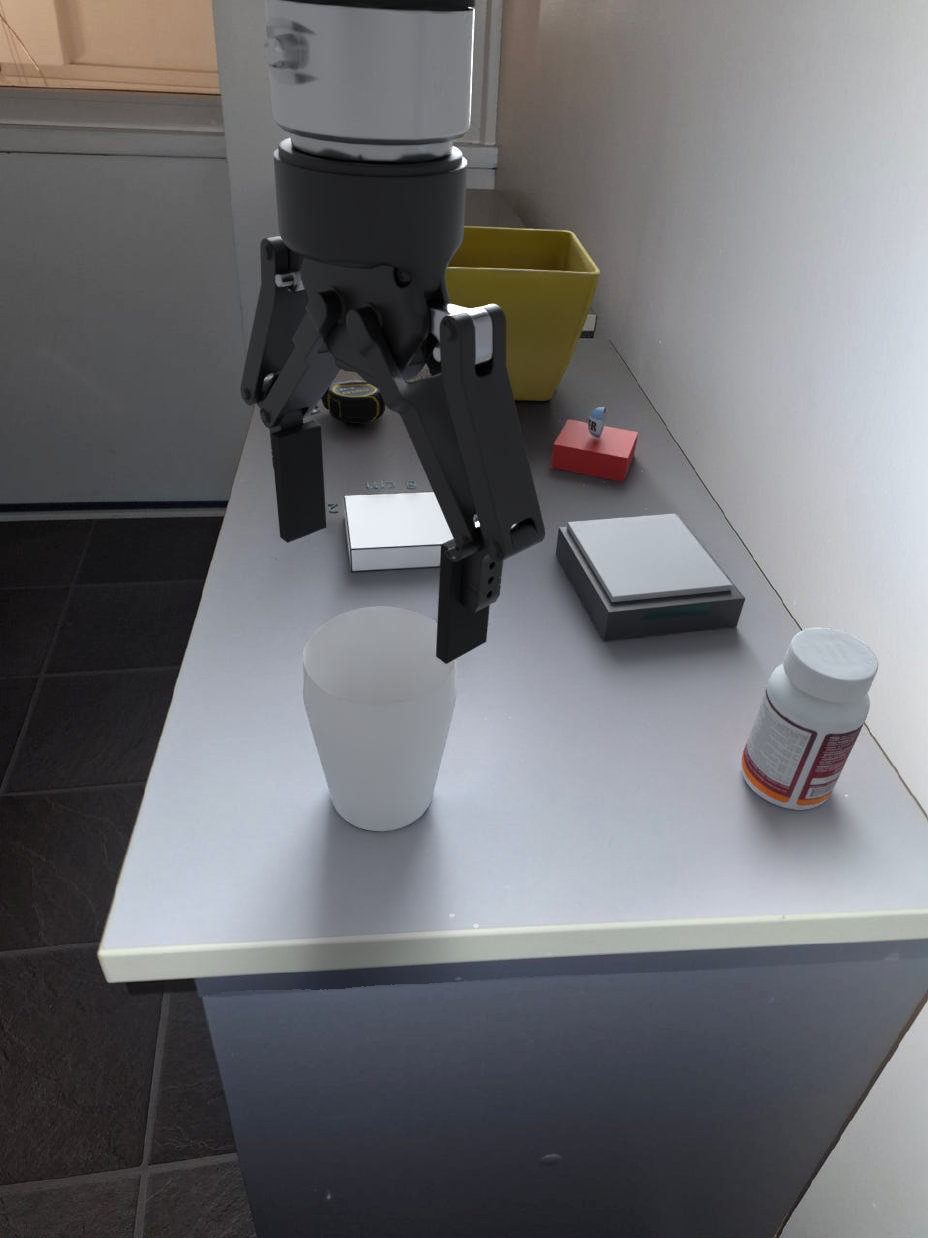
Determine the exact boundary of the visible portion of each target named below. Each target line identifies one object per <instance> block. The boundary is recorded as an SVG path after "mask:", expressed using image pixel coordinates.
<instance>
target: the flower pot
mask: <svg viewBox="0 0 928 1238" xmlns="http://www.w3.org/2000/svg"><path fill="white" fill-rule="evenodd" d="M600 275H601V269H600V268H599V267H598V266H597V265H596V263H595V261H594V260H593V259H592V257H591V255H589V253H588V252H587V250H586V249H585V247H584V245H583V244H582V243H581V242H580V240H579V239H578V237H577V235H576V234H575V233H574V232H573V231H570V230H563V229H540V228H520V227H519V228H518V227H517V228H516V227H515V228H514V227H497V226H494V227H493V226H473V225H464V237H463V242H462V244H461V246H460V248H459V249H458V251H457V252H456V253H455V254H454V256H453V257H452V259H451V261H450V262H449V264H448V267H447V270H446V285H447V291H448V295H449V298H450V302H451V305H455V306H459V307H464V308H468V309H475V308H479V307H483V306H487V305H491V304H496V305H498V306H500V307H501V309H502V310H503V312H504V314H505V317H506V367H507V372H508V376H509V380H510V384H511V388H512V393H513V397H514V401H527V402H528V401H534V402H536V401H537V402H546V401H549V400H552V397H553V395H554V394H555V392H556V391H557V388H558V387H559V384H560V382H561V380H562V379H563V376H564V374H565V372H566V370H567V368H568V366H569V364H570V361H571V360H572V357H573V354H574V353H575V349H576V347H577V345H578V343H579V340H580V338H581V335H582V333H583V329H584V327H585V324H586V322H587V318H588V315H589V312H590V309H591V306H592V304H593V301H594V297H595V294H596V291H597V287H598V283H599V279H600Z"/></svg>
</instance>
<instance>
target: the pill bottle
mask: <svg viewBox="0 0 928 1238" xmlns="http://www.w3.org/2000/svg"><path fill="white" fill-rule="evenodd" d="M878 670H879V660H878V657H877V655H876V654H875V652H874V650H873V649H871V647H870V646H869V645H868V644H867V643H865V642H864V641H862V640H861V639H859V638H858V637H856V636H854V635H852V634H850V633H849V632H845V631H842V630H839V629H835V628H830V627H820V626H819V627H818V626H817V627H808V628H805V629H802V630H800V631H798V632H797V633H795V634H794V636H793V637H792V638H791V641H790V643H789V646H788V649H787V651H786V653H785V655H784V658H783V662H782V663H781V664H779V665H778V666H777V667H775V668H774V670H773V671H772V673H771V674H770V676H769V679H768V681H767V683H766V686H765V688H764V692H763V694H762V697H761V700H760V703H759V705H758V708H757V711H756V714H755V717H754V719H753V723H752V726H751V729H750V731H749V734H748V737H747V740H746V743H745V746H744V748H743V751H742V754H741V759H740V771H741V774H742V777H743V779H744V781H745V783H746V784H747V785H748V787H749V788H750V789H751V790H752V791H753V792H754V793H755V794H757V795H758V796H759V797H760V798H762V799H764V800H765V801H767V802H768V803H771V804H773V805H775V806H778V807H781V808H784V809H789V810H795V811H804V810H810V809H811V810H812V809H814V808H816V807H819V806H820V805H822V804H824V803H825V802H826V801H827V800H828V799H829V798H830V797H831V794H832V793H833V791H834V790H835V786H836V785H837V783H838V780H839V778H840V776H841V774H842V771H843V770H844V767H845V765H846V763H847V761H848V758H849V756H850V754H851V752H852V750H853V748H854V746H855V744H856V742H857V740H858V738H859V736H860V733H861V731H862V729H863V727H864V724H865V723H866V721H867V718H868V715H869V711H870V707H871V703H870V696H869V692H870V689H871V687H872V684H873V682H874V679H875V678H876V675H877V673H878Z"/></svg>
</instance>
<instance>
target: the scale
mask: <svg viewBox="0 0 928 1238" xmlns="http://www.w3.org/2000/svg"><path fill="white" fill-rule="evenodd" d="M566 524H567V525H566V526H559V527H558V531H557V538H556V539H557V540H556V546H555V556H556V558H557V561H558V562H559V564H560V566H561V567H562V569H563V571H564V573H565V575H566V577H567V578H568V580H569V582H570V584H571V585H572V587H573V590H574V592H575V593H576V595H577V597H578V598H579V600H580V602H581V604H582V606H583V607H584V609H585V611H586V612H587V614H588V616H589V618H590V620H591V622H592V624H593V626H594V627H595V629H596V631H597V633H598V635H599V637H600V638H601V640H602V642H611V641H620V640H629V639H638V638H646V637H655V636H663V635H664V636H665V635H673V634H675V635H676V634H682V633H683V634H684V633H693V632H700V631H701V632H702V631H709V630H711V631H712V630H719V629H720V630H721V629H728V628H736V627H738V624H739V621H740V617H741V614H742V611H743V608H744V605H745V602H746V597H745V596H744V595H743V593H742V592H741V591H740V590H739V588H738V587H737V586H736V584H735V583H734V582H733V581H732V580H731V578H730V577H729V576H728V575H727V573H726V572H725V571H724V570H723V568H722V567H721V566H720V565H719V563H718V562H717V560H715V559H714V557H713V556H712V555H711V554H710V552H709V551H708V550H707V549H706V547H705V546H704V545H703V544H702V542H701V541H700V540H699V539H698V538H697V536H696V535H695V534H694V533H693V531H692V530H691V529H690V528H689V526H688V525H687V524H686V523H685V521H684V520H683V518H681V517H679V516H678V514H677V513H663V514H652V515H639V516H627V517H616V518H603V519H602V518H601V519H589V520H577V521H568V522H567V523H566Z"/></svg>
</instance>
